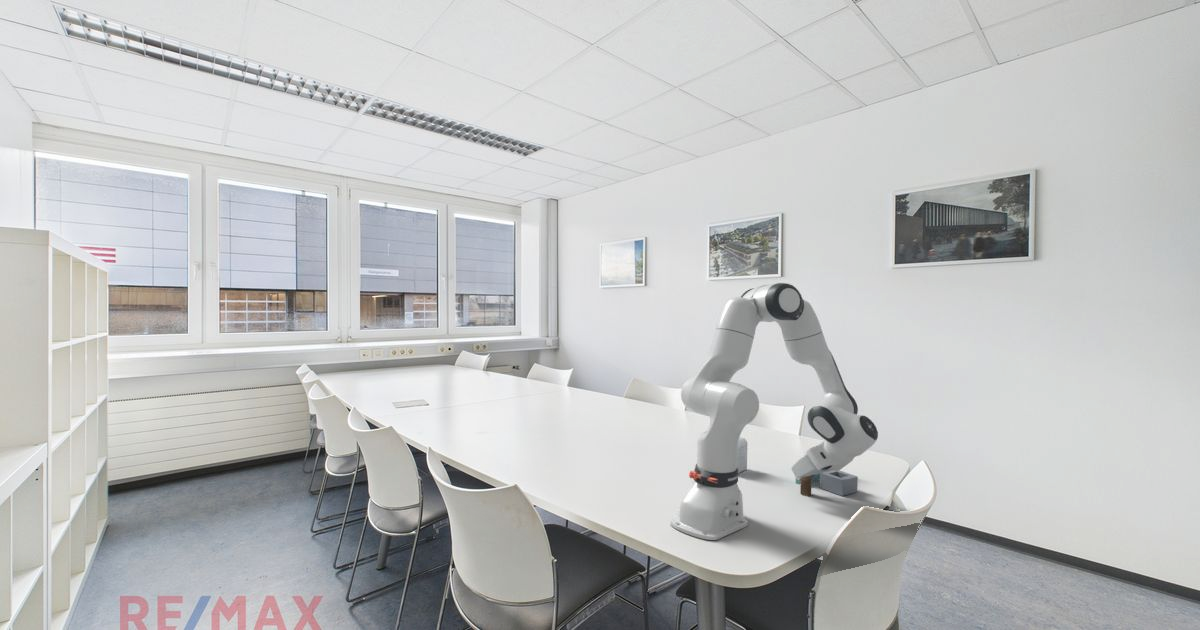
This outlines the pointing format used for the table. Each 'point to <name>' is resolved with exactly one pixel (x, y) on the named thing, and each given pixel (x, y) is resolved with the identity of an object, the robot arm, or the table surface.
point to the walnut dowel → (806, 486)
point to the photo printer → (742, 455)
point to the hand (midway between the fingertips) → (804, 476)
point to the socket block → (839, 482)
